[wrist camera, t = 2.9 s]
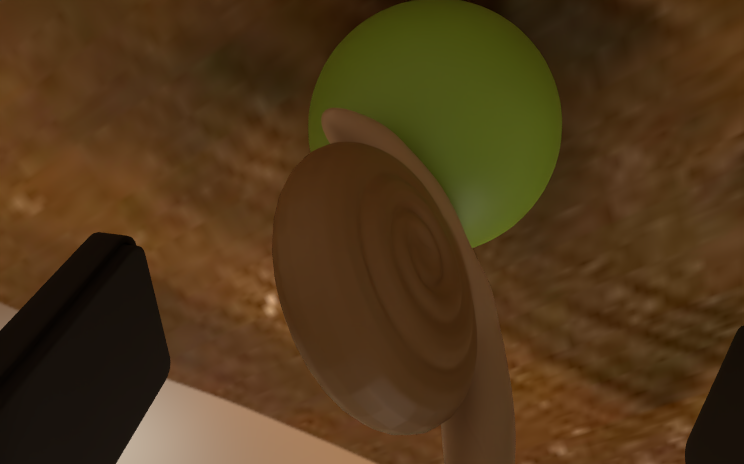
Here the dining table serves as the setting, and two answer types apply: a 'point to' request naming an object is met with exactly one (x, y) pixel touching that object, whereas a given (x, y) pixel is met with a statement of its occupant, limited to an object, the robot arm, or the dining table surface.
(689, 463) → the robot arm
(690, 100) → the dining table surface
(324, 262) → the snail figurine
